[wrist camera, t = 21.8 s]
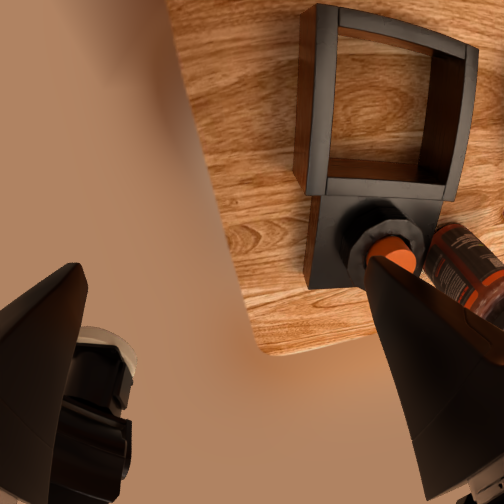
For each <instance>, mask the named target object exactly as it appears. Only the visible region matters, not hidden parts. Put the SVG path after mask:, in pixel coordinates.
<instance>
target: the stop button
mask: <svg viewBox="0 0 504 504" xmlns="http://www.w3.org/2000/svg"><path fill="white" fill-rule="evenodd" d="M378 255H382V256H384V257H386V258H388V259H389V260H391V261H393V262H394V263H396V264H398V265H399V266H401V267H403V268H404V269H406V270H408V271H409V272H411V273H413V272H414V270H415V267H416V258H415V256H414V254H413V253H412V251H411V250H410V249H409V248H408V246H407V245H406V244H405V243H404V241H403V240H402V239H400V238H399V237H396V236H387V237H384V238H382V239H380V240H378V241H377V242H375V243H374V244H373V245H372V246H371V248H370V249H369V251H368V253H367V257H366V264H368V260H369V258H370V257H371V256H378Z"/></svg>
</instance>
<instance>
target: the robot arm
mask: <svg viewBox="0 0 504 504" xmlns="http://www.w3.org/2000/svg"><path fill="white" fill-rule="evenodd" d="M364 286H365V289H366V293H367V297H368V301H369V305H370V309H371V313H372V317H373V320H374V324H375V327H376V330H377V333H378V335H379V338H380V341H381V344H382V347H383V350H384V352H385V355H386V358H387V361H388V364H389V367H390V370H391V373H392V376H393V379H394V382H395V385H396V389H397V392H398V395H399V398H400V401H401V405H402V408H403V411H404V415H405V418H406V421H407V425H408V429H409V432H410V436H411V440H413V441H412V444H413V448H414V451H415V455H416V459H417V463H418V467H419V471H420V476H421V480H422V484H423V488H424V493H425V497H426V500H427V501H429V500H431V499H434V498H436V497H438V496H441V495H443V494H445V493H448V492H450V491H452V490H454V489H456V488H459V487H461V486H463V485H465V484H467V483H468V484H469V487H470V490H471V493H470V494H468V495H466V496H464V497H463V498H461V499H459V500H458V501H457V502H456V504H504V331H503V330H501V329H500V328H498V327H496V326H495V325H493V324H491V323H490V322H488V321H486V320H485V319H483V318H482V317H480V316H478V315H477V314H475V313H474V312H472V311H471V310H469V309H468V308H466V307H463V305H462V304H460V303H458V302H457V301H455V300H454V299H452V298H451V297H449V296H448V295H446V294H445V293H443V292H441V291H440V290H438V289H437V288H435V287H433V286H432V285H430V284H429V283H427V282H426V281H424V280H422V279H421V278H419V277H417V276H416V275H414V274H413V273H411V272H409V271H408V270H406V269H404V268H403V267H401V266H399V265H398V264H396V263H394V262H393V261H391V260H389V259H388V258H386V257H384V256H382V255H378V256H371V257H370V258H369V260H368V264H367V268H366V272H365V275H364ZM87 292H88V284H87V280H86V277H85V274H84V271H83V268H82V266H81V264H80V263H67V264H66V265H64V266H63V267H61V268H60V269H58V270H57V271H55V272H54V273H52V274H51V275H49V276H48V277H46V278H45V279H44V280H42V281H41V282H39V283H38V284H37V285H35V286H34V287H32V288H31V289H29V290H28V291H27V292H25V293H24V294H22V295H21V296H20V297H18V298H17V299H15V300H14V301H13V302H11V303H10V304H8V305H7V306H6V307H5V308H3V309H2V310H0V504H17V500H19V501H21V502H24V503H26V504H109V503H112V502H114V501H115V499H116V498H117V497H118V496H119V494H120V484H121V480H123V479H125V477H126V475H127V473H128V470H129V467H130V462H131V452H132V451H131V450H132V448H131V447H132V446H131V444H132V443H131V441H132V440H131V437H132V421H131V420H128V419H126V420H125V419H123V418H120V415H121V410H125V409H126V408H127V404H128V399H129V393H130V388H131V386H132V385H133V380H132V375H131V373H130V370H129V368H128V366H127V364H126V363H125V362H124V359H123V357H122V355H121V352H120V350H119V348H118V347H117V346H115V345H107V344H92V343H78V342H77V339H78V335H79V332H80V327H81V322H82V317H83V312H84V307H85V302H86V297H87Z"/></svg>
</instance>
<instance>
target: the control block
mask: <svg viewBox="0 0 504 504" xmlns="http://www.w3.org/2000/svg"><path fill="white" fill-rule="evenodd" d="M442 204H443V201H438V200H422V199H404V198H383V197H355V196H326V195H325V196H312V200H311V209H310V219H309V227H308V236H307V244H306V252H305V260H304V268H303V275H304V278H305V281H306V284H307V287H308V290H313V289H332V288H349V287H359V288H361V289H363V290H365V291H366V289H365V286H364V275H365V272H366V268H367V264H366V257H367V253H368V251H369V249H370V248H371V246H372V245H373V244H374V243H375V242H377V241H378V240H380V239H382V238H384V237H387V236H396V237H399V238H400V239H402V240H403V241H404V243H405V244H406V245H407V246H408V248H409V249H410V250H411V251H412V253H413V254H414V256H415V258H416V267H415V270H414V272H413V274H414V275H416V276H417V277H420V274H421V271H422V268H423V266H424V263H425V260H426V257H427V254H428V251H429V248H430V245H431V242H432V238H433V235H434V232H435V229H436V225H437V222H438V219H439V215H440V211H441V208H442Z"/></svg>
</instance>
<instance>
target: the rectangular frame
mask: <svg viewBox="0 0 504 504" xmlns="http://www.w3.org/2000/svg"><path fill="white" fill-rule="evenodd" d="M338 35H341V36H347V37H353V38H358V39H364V40H369V41H374V42H378V43H383V44H387V45H392V46H396V47H400V48H404V49H407V50H411V51H415V52H418V53H422V54H425V55H429V56H432V65H431V77H430V87H429V97H428V105H427V113H426V120H425V127H424V133H423V140H422V146H421V151H420V157H419V162H418V165H412V164H402V163H392V162H381V161H369V160H355V159H339V158H329V154H330V144H331V134H332V122H333V110H334V96H335V82H336V64H337V43H338ZM478 58H479V49H478V48H475V47H473V46H471V45H469V44H465V43H464V42H461V41H459V40H456V39H454V38H451V37H449V36H446V35H443V34H441V33H438V32H435V31H432V30H429V29H426V28H423V27H420V26H417V25H414V24H411V23H407V22H404V21H400V20H397V19H393V18H389V17H385V16H381V15H377V14H373V13H369V12H364V11H359V10H354V9H349V8H344V7H337V6H332V5H326V4H319V3H317V4H315V5H313V6H312V7H310V8H309V9H307V10H306V11H304V12H303V13H301V14H300V39H299V68H298V92H297V112H296V130H295V147H294V163H293V174H294V175H295V177H296V179H297V181H298V183H299V184H300V186H301V188H302V190H303V192H304V194H305V195H306V196H325V195H326V196H355V197H383V198H404V199H422V200H438V201H451V202H454V200H455V197H456V193H457V189H458V185H459V181H460V177H461V173H462V168H463V164H464V159H465V154H466V149H467V144H468V139H469V133H470V128H471V122H472V115H473V108H474V101H475V92H476V83H477V72H478Z"/></svg>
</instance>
